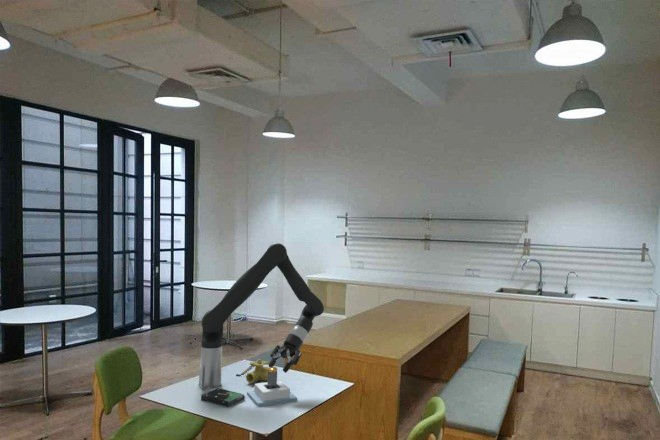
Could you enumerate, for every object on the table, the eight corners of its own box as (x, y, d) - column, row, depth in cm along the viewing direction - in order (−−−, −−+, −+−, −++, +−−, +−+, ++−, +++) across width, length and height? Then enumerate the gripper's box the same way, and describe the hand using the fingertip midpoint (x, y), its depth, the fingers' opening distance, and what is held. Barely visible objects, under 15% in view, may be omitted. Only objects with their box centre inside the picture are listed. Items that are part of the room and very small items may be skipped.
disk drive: (200, 401, 189) (229, 408, 182) (200, 394, 189) (229, 401, 182) (217, 394, 198) (245, 400, 191) (217, 387, 198) (245, 393, 191)
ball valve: (260, 376, 223) (261, 355, 223) (277, 379, 218) (278, 358, 218) (243, 383, 212) (244, 361, 212) (261, 387, 207) (262, 364, 207)
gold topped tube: (268, 396, 191) (269, 370, 191) (265, 393, 195) (266, 367, 195) (278, 395, 193) (278, 369, 193) (274, 392, 197) (275, 366, 197)
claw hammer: (248, 379, 220) (248, 377, 220) (235, 377, 221) (235, 374, 221) (264, 366, 240) (264, 364, 240) (252, 364, 242) (252, 362, 242)
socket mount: (257, 406, 183) (258, 394, 184) (246, 394, 197) (247, 383, 197) (297, 400, 191) (297, 389, 191) (284, 389, 204) (284, 378, 205)
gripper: (280, 330, 208) (261, 361, 199) (304, 335, 199) (284, 367, 190) (288, 340, 212) (269, 370, 203) (311, 345, 203) (293, 378, 194)
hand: (277, 369), depth 196 cm, fingers open, 8 cm apart
